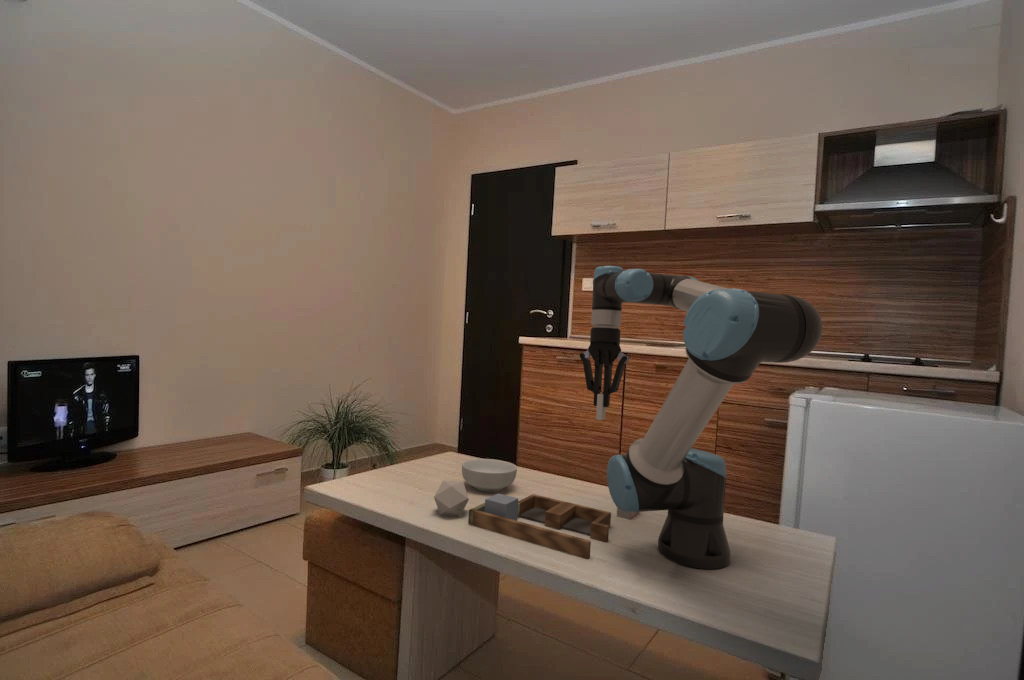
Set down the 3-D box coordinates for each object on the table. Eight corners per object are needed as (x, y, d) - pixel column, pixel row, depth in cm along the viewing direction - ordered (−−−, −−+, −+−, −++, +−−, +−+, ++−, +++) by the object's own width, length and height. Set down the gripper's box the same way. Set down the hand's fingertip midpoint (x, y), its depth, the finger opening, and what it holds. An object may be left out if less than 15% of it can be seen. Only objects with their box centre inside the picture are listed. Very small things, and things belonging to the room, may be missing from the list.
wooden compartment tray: (621, 528, 125) (621, 514, 125) (587, 559, 107) (588, 542, 107) (513, 502, 141) (514, 489, 141) (468, 524, 123) (468, 509, 123)
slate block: (517, 522, 126) (518, 498, 126) (504, 529, 121) (505, 504, 121) (496, 516, 130) (498, 493, 130) (483, 523, 124) (485, 499, 124)
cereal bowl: (495, 500, 142) (497, 475, 142) (449, 488, 151) (450, 465, 151) (525, 487, 157) (527, 464, 157) (481, 477, 165) (483, 455, 165)
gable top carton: (616, 516, 135) (618, 479, 135) (626, 510, 140) (628, 474, 140) (630, 519, 133) (632, 481, 133) (639, 513, 138) (641, 476, 138)
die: (452, 525, 123) (476, 490, 126) (423, 503, 125) (448, 469, 128) (455, 526, 131) (477, 492, 134) (427, 505, 133) (450, 473, 136)
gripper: (635, 329, 129) (630, 421, 129) (587, 327, 136) (582, 414, 136) (626, 327, 123) (620, 424, 123) (576, 325, 129) (571, 417, 129)
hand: (600, 419), depth 129 cm, fingers closed
